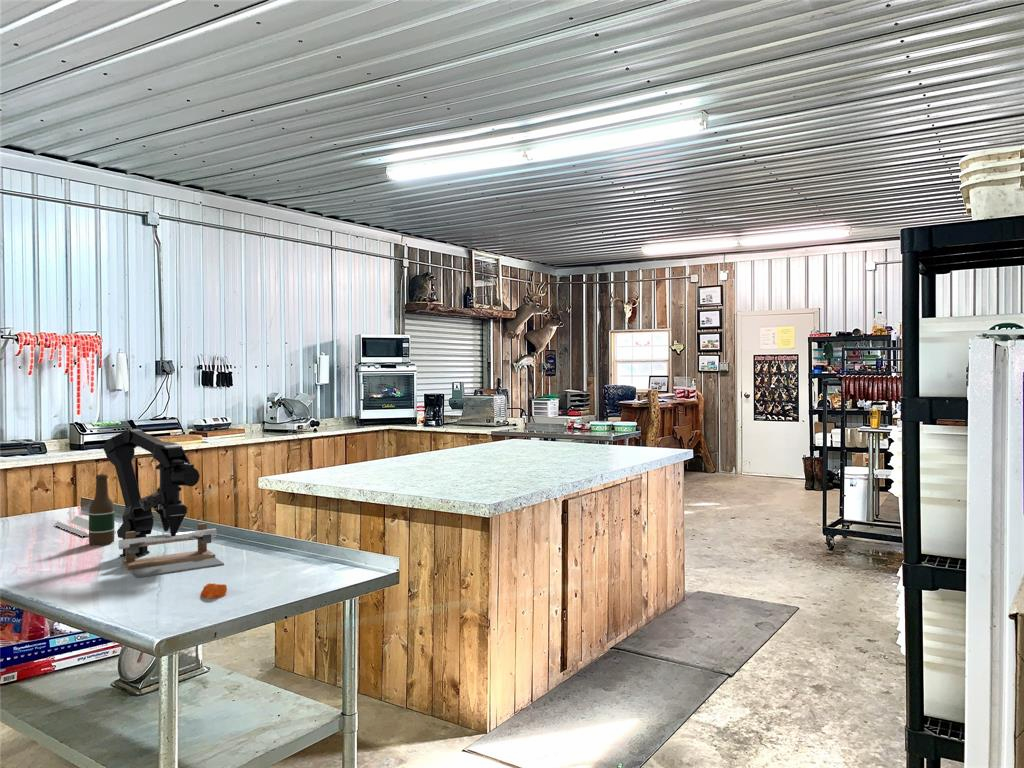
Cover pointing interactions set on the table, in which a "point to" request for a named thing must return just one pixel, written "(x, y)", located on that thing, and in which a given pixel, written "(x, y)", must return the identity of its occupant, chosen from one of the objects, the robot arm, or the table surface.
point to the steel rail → (166, 538)
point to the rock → (214, 591)
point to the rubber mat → (176, 567)
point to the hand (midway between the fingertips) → (169, 533)
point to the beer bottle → (101, 514)
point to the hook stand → (167, 559)
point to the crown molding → (79, 522)
